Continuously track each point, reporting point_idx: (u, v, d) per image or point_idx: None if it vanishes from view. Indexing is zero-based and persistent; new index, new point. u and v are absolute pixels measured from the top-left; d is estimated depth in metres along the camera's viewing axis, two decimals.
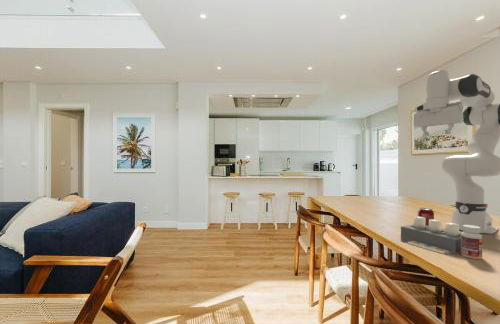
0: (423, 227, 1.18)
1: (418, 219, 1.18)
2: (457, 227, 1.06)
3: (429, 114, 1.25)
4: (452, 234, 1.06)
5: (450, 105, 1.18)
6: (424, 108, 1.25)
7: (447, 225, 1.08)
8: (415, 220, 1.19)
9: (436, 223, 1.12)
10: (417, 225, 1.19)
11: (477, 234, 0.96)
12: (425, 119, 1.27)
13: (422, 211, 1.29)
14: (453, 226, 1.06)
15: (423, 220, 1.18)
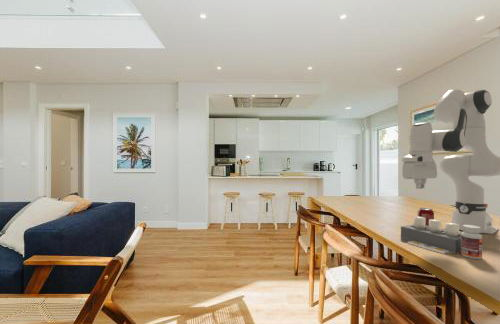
0: (423, 227, 1.18)
1: (418, 219, 1.18)
2: (457, 227, 1.06)
3: (420, 166, 1.17)
4: (452, 234, 1.06)
5: None
6: (423, 160, 1.15)
7: (447, 225, 1.08)
8: (415, 220, 1.19)
9: (436, 223, 1.12)
10: (417, 225, 1.19)
11: (477, 234, 0.96)
12: (418, 171, 1.16)
13: (422, 211, 1.29)
14: (453, 226, 1.06)
15: (423, 220, 1.18)
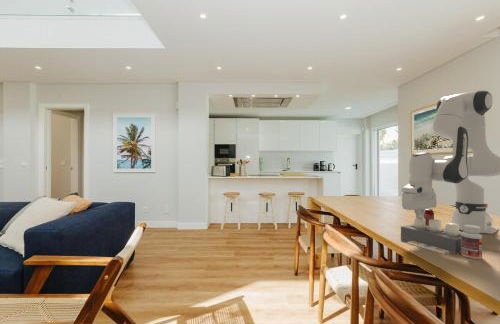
0: (423, 228, 1.18)
1: (418, 220, 1.18)
2: (457, 227, 1.06)
3: (420, 197, 1.17)
4: (452, 234, 1.06)
5: None
6: (423, 191, 1.15)
7: (447, 225, 1.08)
8: (415, 221, 1.19)
9: (436, 223, 1.12)
10: (417, 226, 1.19)
11: (477, 234, 0.96)
12: (418, 202, 1.16)
13: None
14: (453, 226, 1.06)
15: (423, 221, 1.18)
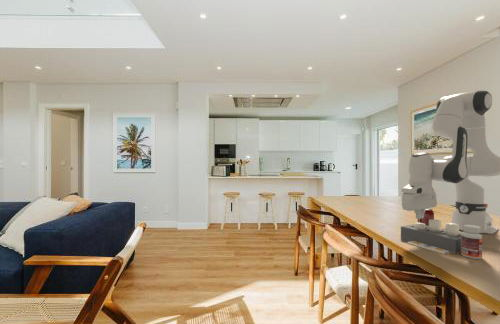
0: None
1: (418, 225, 1.18)
2: (457, 227, 1.06)
3: (420, 197, 1.17)
4: (452, 234, 1.06)
5: None
6: (423, 192, 1.15)
7: (447, 225, 1.08)
8: (415, 226, 1.19)
9: (436, 223, 1.12)
10: None
11: (477, 234, 0.96)
12: (418, 202, 1.17)
13: None
14: (453, 226, 1.06)
15: (423, 226, 1.18)
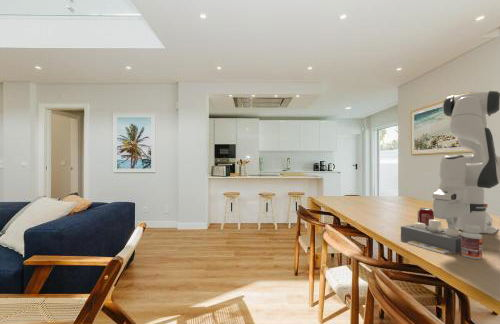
0: None
1: (418, 225, 1.18)
2: (457, 231, 1.06)
3: (453, 204, 1.05)
4: None
5: None
6: (457, 198, 1.03)
7: (447, 229, 1.08)
8: (415, 226, 1.19)
9: (436, 223, 1.12)
10: None
11: (477, 234, 0.96)
12: (451, 210, 1.04)
13: (422, 211, 1.29)
14: (453, 230, 1.06)
15: (423, 226, 1.18)
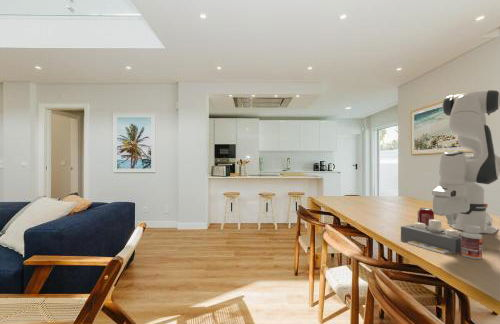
0: None
1: (418, 225, 1.18)
2: (457, 233, 1.06)
3: (453, 201, 1.06)
4: None
5: None
6: (457, 195, 1.03)
7: (447, 232, 1.08)
8: (415, 226, 1.19)
9: (436, 223, 1.12)
10: None
11: (477, 234, 0.96)
12: (451, 207, 1.05)
13: (422, 211, 1.29)
14: (453, 233, 1.06)
15: (423, 226, 1.18)
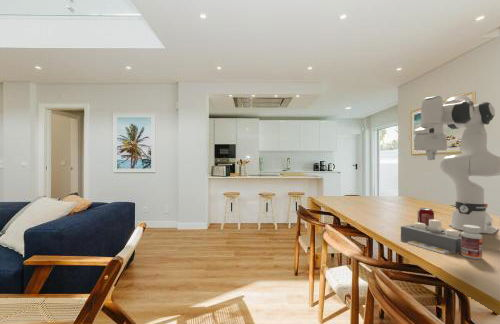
0: None
1: (418, 225, 1.18)
2: (457, 233, 1.06)
3: (432, 138, 1.22)
4: None
5: None
6: (435, 132, 1.19)
7: (447, 232, 1.08)
8: (415, 226, 1.19)
9: (436, 223, 1.12)
10: None
11: (477, 234, 0.96)
12: (430, 143, 1.21)
13: (422, 211, 1.29)
14: (453, 233, 1.06)
15: (423, 226, 1.18)
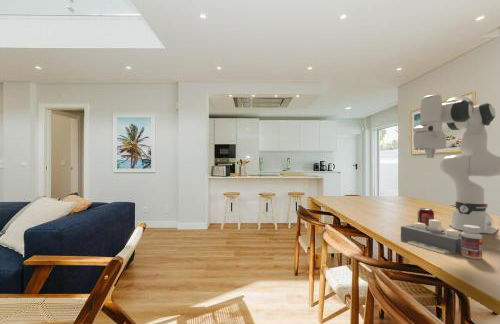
0: None
1: (418, 225, 1.18)
2: (457, 233, 1.06)
3: (431, 136, 1.22)
4: None
5: None
6: (434, 129, 1.20)
7: (447, 232, 1.08)
8: (415, 226, 1.19)
9: (436, 223, 1.12)
10: None
11: (477, 234, 0.96)
12: (429, 141, 1.22)
13: (422, 211, 1.29)
14: (453, 233, 1.06)
15: (423, 226, 1.18)
